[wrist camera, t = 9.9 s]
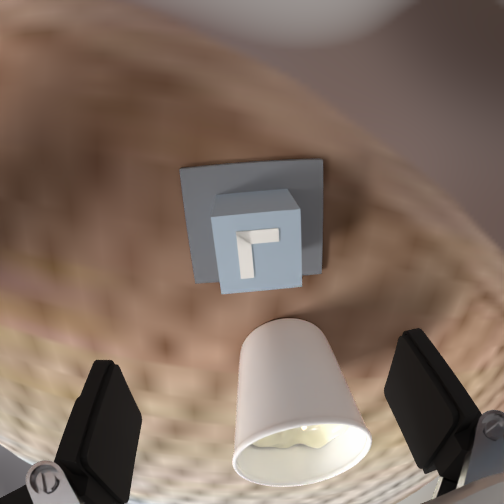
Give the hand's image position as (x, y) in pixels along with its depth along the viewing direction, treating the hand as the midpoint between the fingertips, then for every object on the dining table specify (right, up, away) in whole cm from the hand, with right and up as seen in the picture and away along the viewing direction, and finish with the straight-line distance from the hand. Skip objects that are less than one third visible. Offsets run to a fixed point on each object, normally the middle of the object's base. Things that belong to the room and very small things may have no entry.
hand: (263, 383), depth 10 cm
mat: (0, +7, +14) cm, 16 cm away
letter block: (0, +6, +14) cm, 15 cm away
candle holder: (+3, -5, +20) cm, 21 cm away
